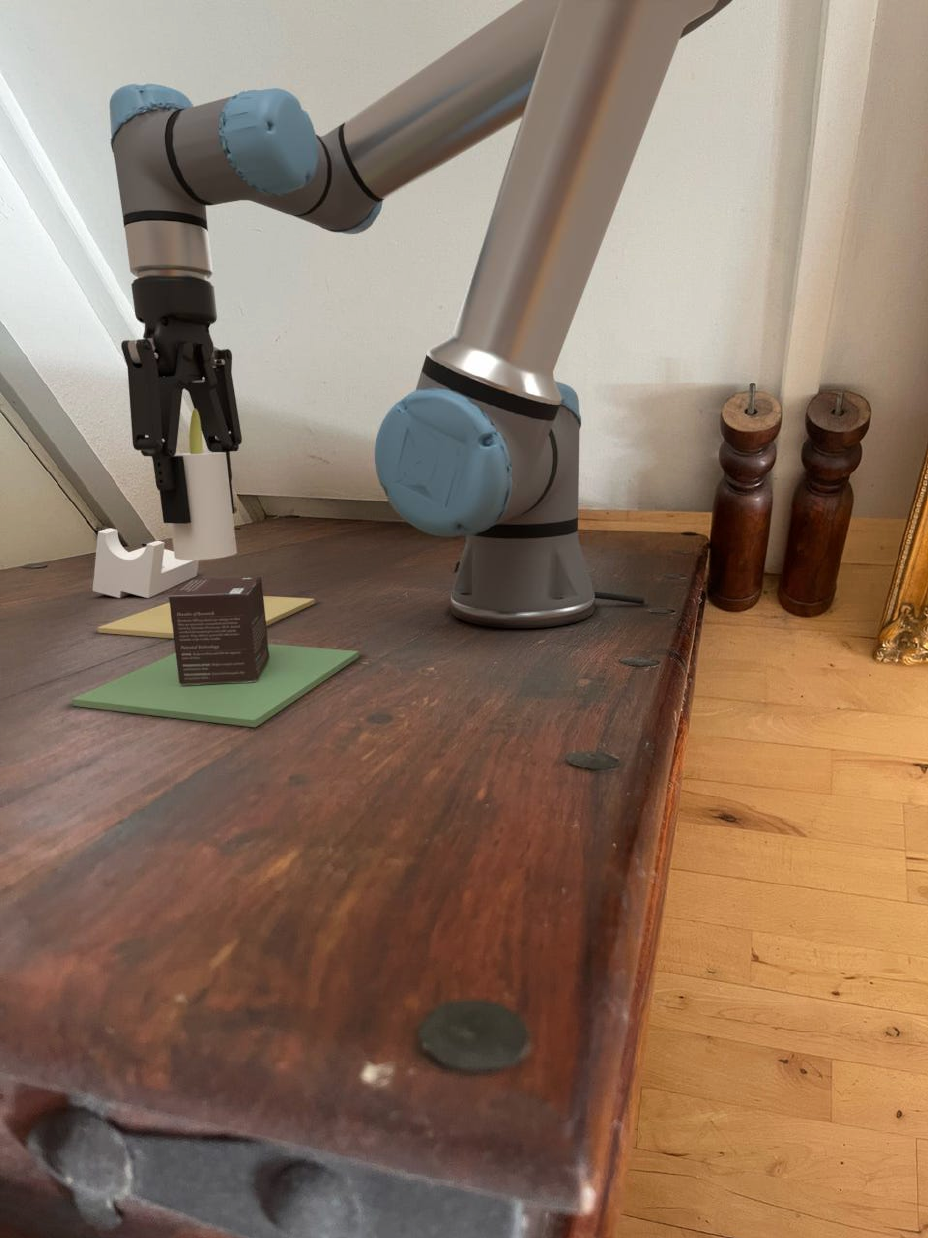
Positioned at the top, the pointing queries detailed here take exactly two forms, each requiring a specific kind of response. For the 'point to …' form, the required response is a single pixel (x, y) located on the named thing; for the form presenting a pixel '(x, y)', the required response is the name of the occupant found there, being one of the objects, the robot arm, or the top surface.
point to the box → (219, 630)
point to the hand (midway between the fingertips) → (200, 517)
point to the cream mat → (160, 620)
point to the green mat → (220, 688)
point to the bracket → (137, 568)
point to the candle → (205, 503)
